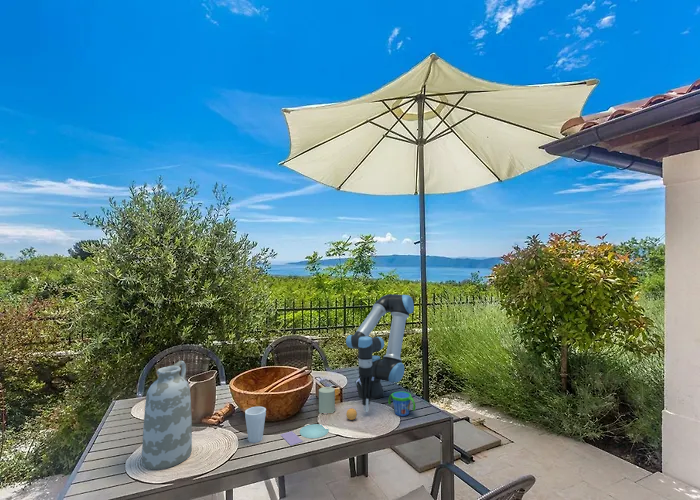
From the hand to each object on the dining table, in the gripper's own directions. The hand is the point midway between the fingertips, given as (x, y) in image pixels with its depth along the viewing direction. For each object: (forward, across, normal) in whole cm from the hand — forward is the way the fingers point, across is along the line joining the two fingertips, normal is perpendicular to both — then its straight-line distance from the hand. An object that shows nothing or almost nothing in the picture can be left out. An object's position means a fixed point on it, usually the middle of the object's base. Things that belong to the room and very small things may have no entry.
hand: (366, 410), depth 182 cm
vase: (+3, -92, +16) cm, 94 cm away
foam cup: (+3, -57, +9) cm, 58 cm away
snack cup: (+2, +17, -10) cm, 20 cm away
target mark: (+2, -31, 0) cm, 31 cm away
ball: (0, -9, 0) cm, 9 cm away
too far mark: (+3, -43, 0) cm, 43 cm away
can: (+3, -14, +17) cm, 22 cm away
